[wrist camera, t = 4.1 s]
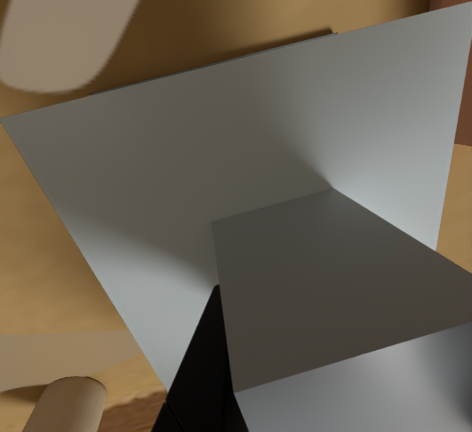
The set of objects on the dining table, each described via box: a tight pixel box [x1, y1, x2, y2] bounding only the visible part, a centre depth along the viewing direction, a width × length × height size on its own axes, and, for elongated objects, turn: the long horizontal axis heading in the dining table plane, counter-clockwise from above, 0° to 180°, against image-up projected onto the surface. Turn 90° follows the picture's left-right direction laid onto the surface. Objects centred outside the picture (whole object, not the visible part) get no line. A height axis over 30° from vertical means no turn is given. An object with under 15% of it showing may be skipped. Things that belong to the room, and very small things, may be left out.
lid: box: [0, 1, 472, 432], centre depth 7 cm, size 12×12×6 cm
